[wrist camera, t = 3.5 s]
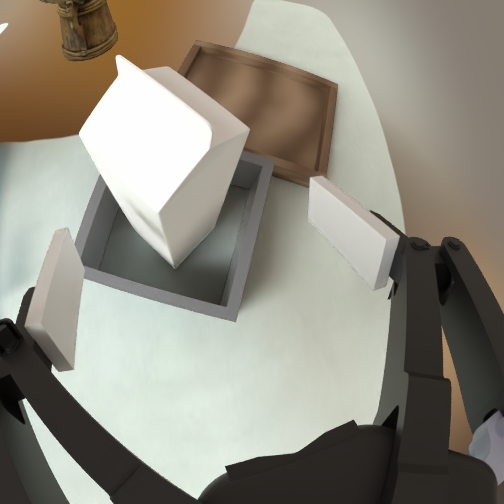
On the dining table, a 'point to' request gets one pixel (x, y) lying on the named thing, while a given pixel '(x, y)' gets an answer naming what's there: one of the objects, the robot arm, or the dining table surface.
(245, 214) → the box
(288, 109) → the tray
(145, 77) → the milk
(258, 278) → the dining table surface
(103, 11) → the wooden mug
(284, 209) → the dining table surface
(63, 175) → the dining table surface
